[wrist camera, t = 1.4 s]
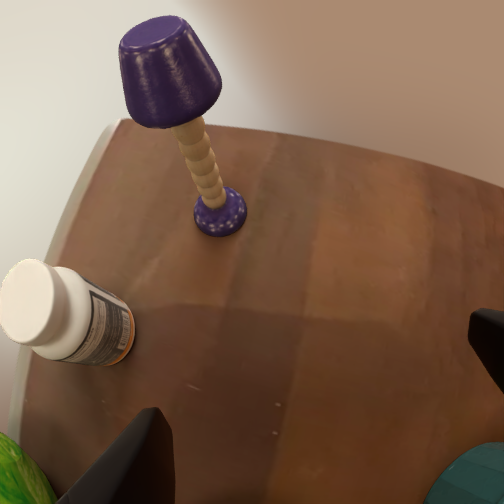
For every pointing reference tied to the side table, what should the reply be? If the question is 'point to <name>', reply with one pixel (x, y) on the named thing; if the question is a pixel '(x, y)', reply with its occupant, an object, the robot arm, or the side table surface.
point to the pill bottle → (64, 315)
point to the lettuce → (21, 477)
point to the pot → (472, 478)
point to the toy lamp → (180, 108)
